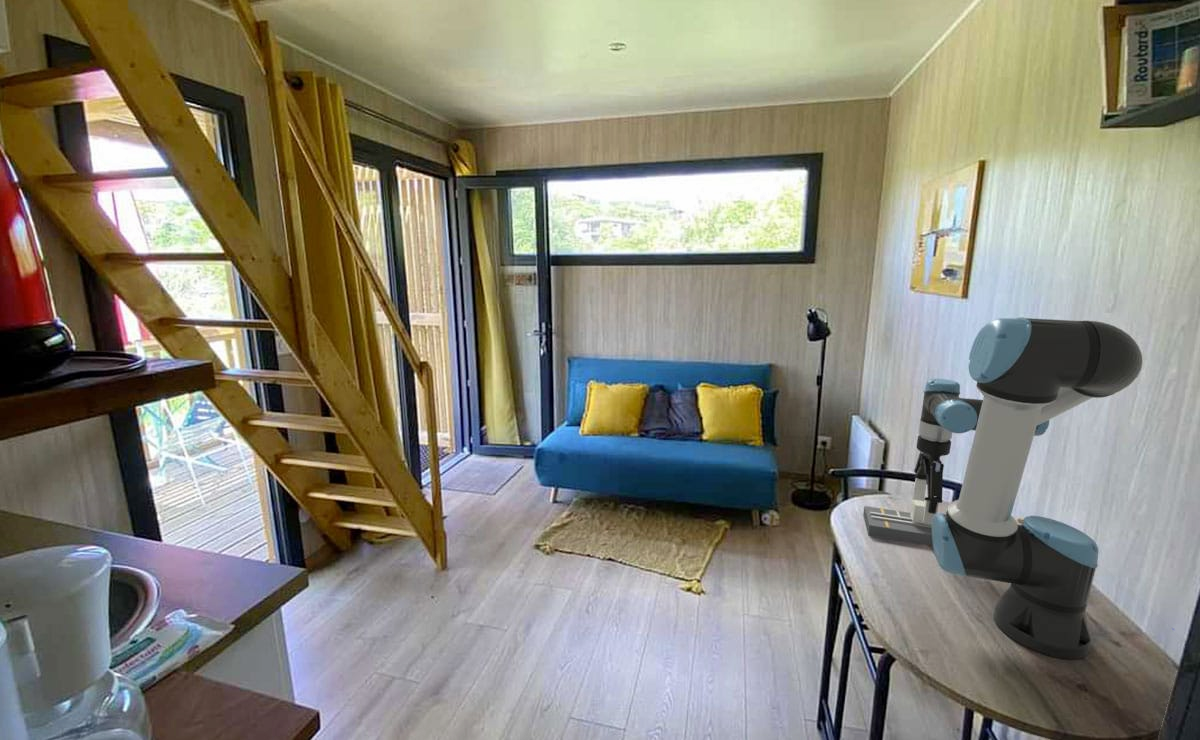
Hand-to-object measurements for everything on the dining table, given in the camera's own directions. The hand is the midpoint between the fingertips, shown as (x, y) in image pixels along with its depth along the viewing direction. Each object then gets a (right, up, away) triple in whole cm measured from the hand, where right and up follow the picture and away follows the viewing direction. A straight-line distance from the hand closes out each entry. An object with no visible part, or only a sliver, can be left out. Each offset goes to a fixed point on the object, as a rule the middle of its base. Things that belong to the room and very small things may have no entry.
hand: (923, 511), depth 144 cm
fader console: (-5, -6, +3) cm, 8 cm away
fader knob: (0, -3, +1) cm, 3 cm away
